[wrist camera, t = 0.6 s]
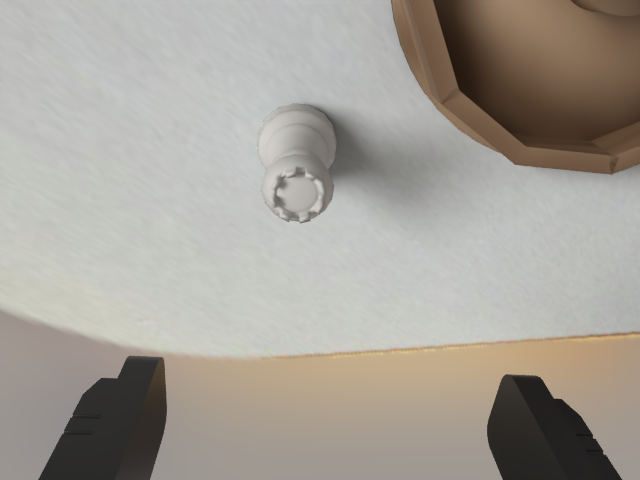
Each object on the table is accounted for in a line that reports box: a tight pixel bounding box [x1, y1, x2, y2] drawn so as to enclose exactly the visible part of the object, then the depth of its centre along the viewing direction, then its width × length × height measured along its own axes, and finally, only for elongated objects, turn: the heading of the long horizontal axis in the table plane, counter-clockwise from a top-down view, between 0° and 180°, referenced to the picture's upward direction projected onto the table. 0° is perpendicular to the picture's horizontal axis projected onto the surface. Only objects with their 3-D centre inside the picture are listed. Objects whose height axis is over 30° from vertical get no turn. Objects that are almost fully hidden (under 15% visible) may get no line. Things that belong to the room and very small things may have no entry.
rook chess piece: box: [257, 104, 337, 223], centre depth 26 cm, size 4×4×8 cm
